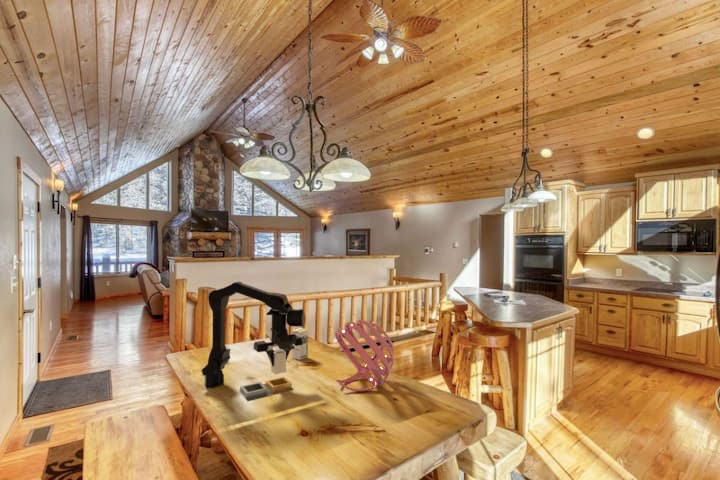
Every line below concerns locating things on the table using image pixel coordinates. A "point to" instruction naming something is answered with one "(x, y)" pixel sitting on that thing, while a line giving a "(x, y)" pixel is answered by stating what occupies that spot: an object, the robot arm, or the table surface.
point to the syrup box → (300, 350)
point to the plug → (279, 362)
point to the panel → (266, 388)
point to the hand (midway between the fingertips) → (278, 365)
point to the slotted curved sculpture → (370, 361)
